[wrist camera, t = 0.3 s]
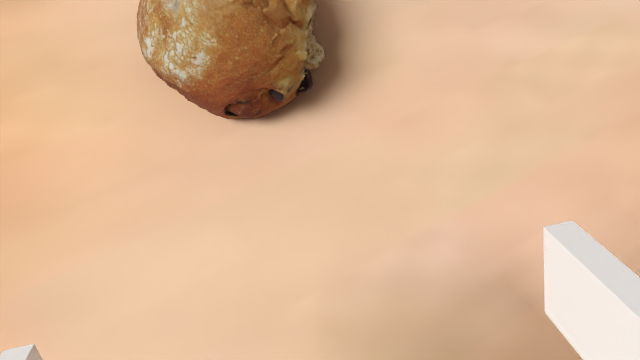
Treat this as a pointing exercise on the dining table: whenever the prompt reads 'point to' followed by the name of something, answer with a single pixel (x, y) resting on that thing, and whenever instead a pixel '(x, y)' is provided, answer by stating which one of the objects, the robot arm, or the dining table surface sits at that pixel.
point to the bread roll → (231, 51)
